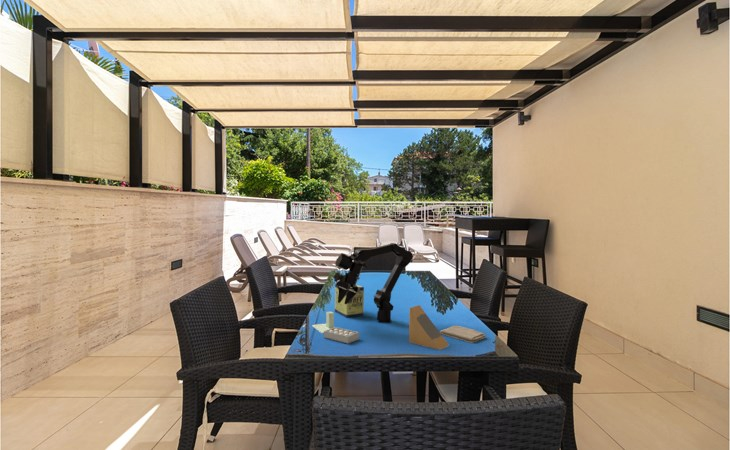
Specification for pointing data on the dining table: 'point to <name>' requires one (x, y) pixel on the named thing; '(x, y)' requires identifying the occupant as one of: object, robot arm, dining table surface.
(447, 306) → the dining table surface
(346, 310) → the protein box
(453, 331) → the washcloth
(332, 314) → the pale green grooved stand
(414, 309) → the sandwich container
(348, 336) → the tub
